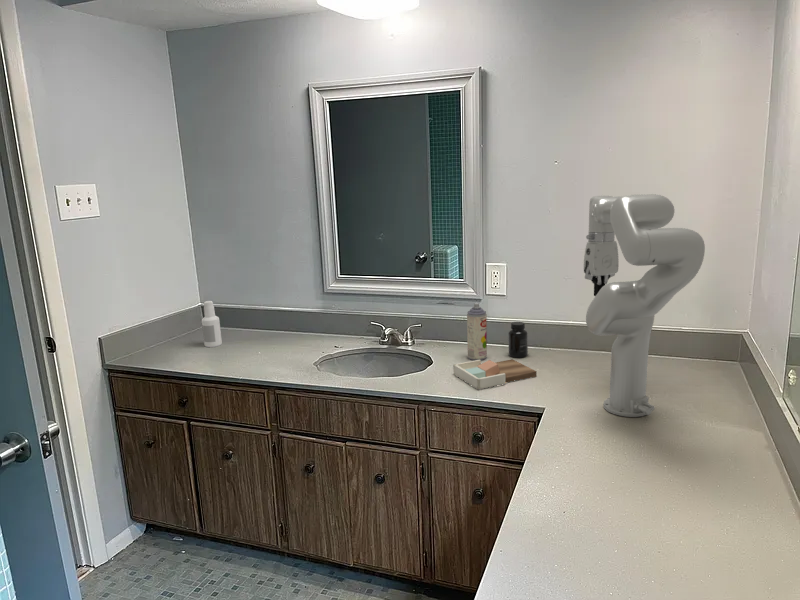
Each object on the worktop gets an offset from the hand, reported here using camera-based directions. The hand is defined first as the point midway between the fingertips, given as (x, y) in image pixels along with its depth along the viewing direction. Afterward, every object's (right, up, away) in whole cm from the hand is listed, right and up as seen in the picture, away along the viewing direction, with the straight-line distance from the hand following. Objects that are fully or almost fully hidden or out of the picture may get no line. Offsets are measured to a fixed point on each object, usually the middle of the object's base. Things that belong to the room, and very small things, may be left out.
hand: (599, 296), depth 189 cm
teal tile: (-37, -27, +9) cm, 47 cm away
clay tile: (-32, -25, +11) cm, 42 cm away
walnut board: (-25, -25, +15) cm, 39 cm away
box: (-36, -27, +10) cm, 46 cm away
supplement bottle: (-19, -21, +32) cm, 43 cm away
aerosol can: (-34, -22, +31) cm, 51 cm away
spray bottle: (-137, -19, +60) cm, 151 cm away
